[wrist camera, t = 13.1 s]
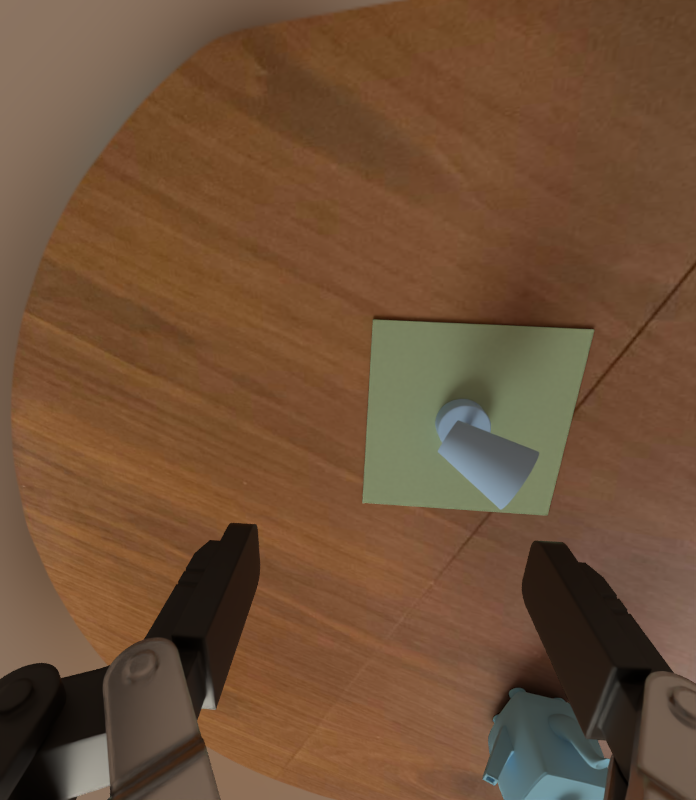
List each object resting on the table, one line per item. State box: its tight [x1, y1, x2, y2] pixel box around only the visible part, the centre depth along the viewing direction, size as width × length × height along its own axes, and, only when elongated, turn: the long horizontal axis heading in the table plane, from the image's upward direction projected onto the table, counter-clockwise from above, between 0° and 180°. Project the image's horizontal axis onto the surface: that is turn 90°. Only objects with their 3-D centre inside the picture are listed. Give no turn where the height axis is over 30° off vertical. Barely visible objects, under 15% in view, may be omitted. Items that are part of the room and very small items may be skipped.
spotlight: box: [435, 399, 539, 510], centre depth 29 cm, size 5×10×7 cm
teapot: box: [483, 688, 610, 800], centre depth 41 cm, size 18×14×10 cm
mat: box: [363, 319, 594, 515], centre depth 34 cm, size 18×18×1 cm
